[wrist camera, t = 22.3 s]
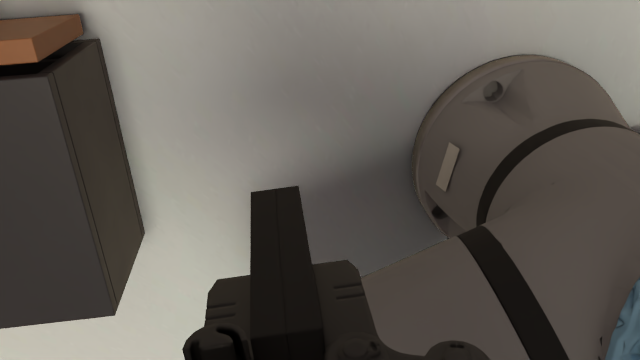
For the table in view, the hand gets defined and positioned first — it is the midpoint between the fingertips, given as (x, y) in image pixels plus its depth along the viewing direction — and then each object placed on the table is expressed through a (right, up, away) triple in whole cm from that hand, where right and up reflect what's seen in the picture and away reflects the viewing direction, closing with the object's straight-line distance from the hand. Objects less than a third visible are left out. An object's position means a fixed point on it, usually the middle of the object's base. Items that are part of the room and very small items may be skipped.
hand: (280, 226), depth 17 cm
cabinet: (-19, +3, +20) cm, 28 cm away
